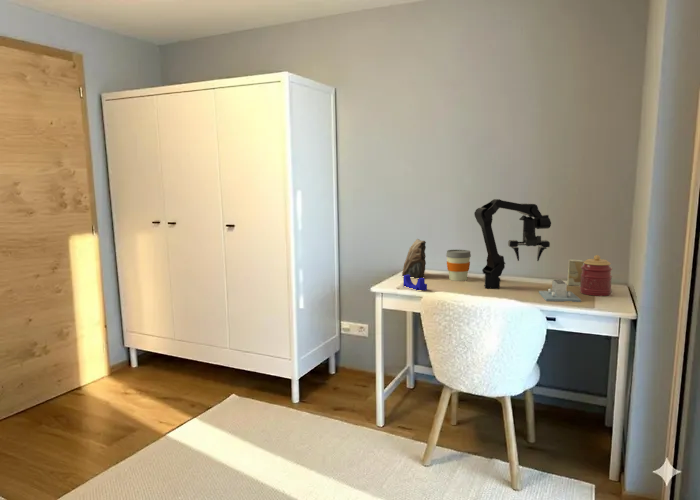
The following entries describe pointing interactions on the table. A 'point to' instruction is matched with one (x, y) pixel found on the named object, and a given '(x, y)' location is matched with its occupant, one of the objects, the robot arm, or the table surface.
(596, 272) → the canister
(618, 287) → the table surface
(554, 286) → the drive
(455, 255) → the reusable coffee cup
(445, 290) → the table surface
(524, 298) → the table surface
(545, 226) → the robot arm
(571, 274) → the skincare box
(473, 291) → the table surface
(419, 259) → the brown tall pointed piece
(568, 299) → the pin tray
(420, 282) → the cable clip
